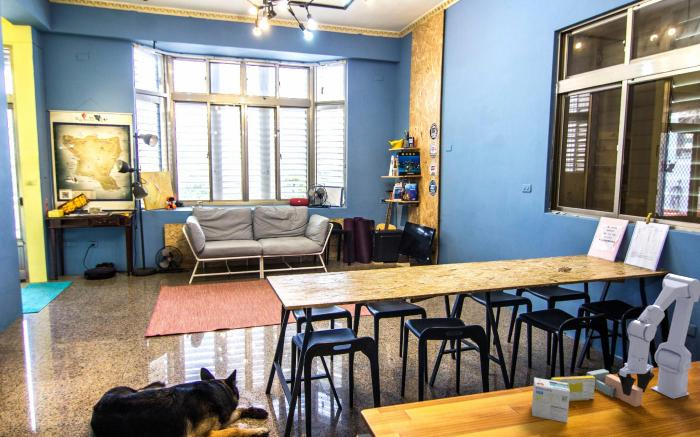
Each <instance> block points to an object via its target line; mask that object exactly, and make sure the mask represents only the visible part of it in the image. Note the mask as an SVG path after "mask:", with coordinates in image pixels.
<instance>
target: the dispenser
mask: <svg viewBox="0 0 700 437" xmlns="http://www.w3.org/2000/svg"><path fill="white" fill-rule="evenodd" d="M606 375H610V371H609V370H606V369H605V368H602V369H601V368H600V369H597V370H593V371H592V370H591V371H587V372H586V376H594V377H595V388H597V389H598V390H597V389H596V390H597V391H599V390H600V391H599V392H601V391H602V392H601V393H603V392H604V393H603V394H605V393H606V394H605V395H607V394H608V395H607V396H609V395H610V396H611V398H612V397H614V398H616V396H615V395H616V387H614V386H613V387H611V386H609V385H607V384H605V376H606ZM610 396H609V397H610Z"/></svg>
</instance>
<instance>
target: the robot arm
mask: <svg viewBox="0 0 700 437" xmlns="http://www.w3.org/2000/svg"><path fill="white" fill-rule="evenodd" d="M699 299H700V280H699V279H697V278H691V277H686V276H681V275H677V274H673V273H668V274H666V275H665V276H664V278H663V279H662V290H661V292H660V293H659V294H658V297H657V298H656V299H655V302H654V303H653V304H652V305H651V304H650V305H648V306H646V307H645V309H644V310H643V312H641V314H640V315H639V317H637V320H636V319H635V320H632V321H631V322H629V324H628V326H627V328H626V329H627V330H626V331H627V334H628V338H627V339H628V341H629V348H628V355H627V356H628V358H627V362H625V363H623V364H624V367H622V368H620V369H619V371H617V373H616V375H617V377H618V378H619V379H620V381H621V385H622V391H623V394H625V395H627V396H630V394H631V390H632V386H633V385H635V382H636V381H637V382H636V383H637V384H636V386H637V387H639V388H641V389H643V393H645V392H646V390H647V388H648V385H649V384H650V382H651V380H653V379H654V377H655V373H653V370H654V366H653V365H651V364H649V363H648V360H649V354H650V353H649V352H650V343H651V341H652V340H653V339H654V338H655V335H656V333H657V329H658V326H659V324H660V323H661V322H662V321H663V319H664V318H665V316H666V315H665V312H664V311H665V310H667V308H668V307H669V306H670V305H671V304H672V303H673V302H674V301H676V302H675V305H674V306H675V307H674V310H673V314H672V320H671V323H670V324H671V325H670V328H669V333H668V337H667V341H666V342H662V343H659V345H658V348H657V350H656V351H655V353H654V361H655V362H656V364H657V367H659V369H658V377H657V385H656V386H651V390H653V391H655V392H658V393H660V394H662V395H664V396H666V397H668V398H671V399H677V398H680V397H685V396H690V393H689V392H687V390H688V383H689V382H688V381H689V374H688V372H689V370H690V369H691V367H692V353H691V352H690V350H688V349H687V347H686V346H685V343H686V339H687V335H688V331H689V325H690V322H691V316H692V312H693V308H694V303H697V302H699ZM632 375H636V378H637V379H636V378H634V377H633V376H632ZM643 393H642V394H643Z"/></svg>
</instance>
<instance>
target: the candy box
mask: <svg viewBox="0 0 700 437" xmlns="http://www.w3.org/2000/svg"><path fill="white" fill-rule="evenodd" d="M550 380H552V381H558V382H565V383H568V387H569V390H570V397H569V402H573V401H575V402H576V401H590V400H589V399H594V400H595V377H594V376H587V375H581V376H555V377H551V379H550Z"/></svg>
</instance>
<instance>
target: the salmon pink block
mask: <svg viewBox="0 0 700 437" xmlns="http://www.w3.org/2000/svg"><path fill="white" fill-rule="evenodd" d="M605 384H607V385H609V386H611V387H613V386H614V387H616V395H615V398H617V399H619V398H620V399H619V400H621V401H624V402H626V403H627V404H629V405H631V406H632V407H640V406H642V402H643V389H641V388H639V387H637V385H635V384H633V386H632V390H631V394H630V396H627V395H625V394H623V391H622V385H621V381H620V379H619V377H618V376H616V375H614V374H611V373H609V375H606V376H605Z"/></svg>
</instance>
